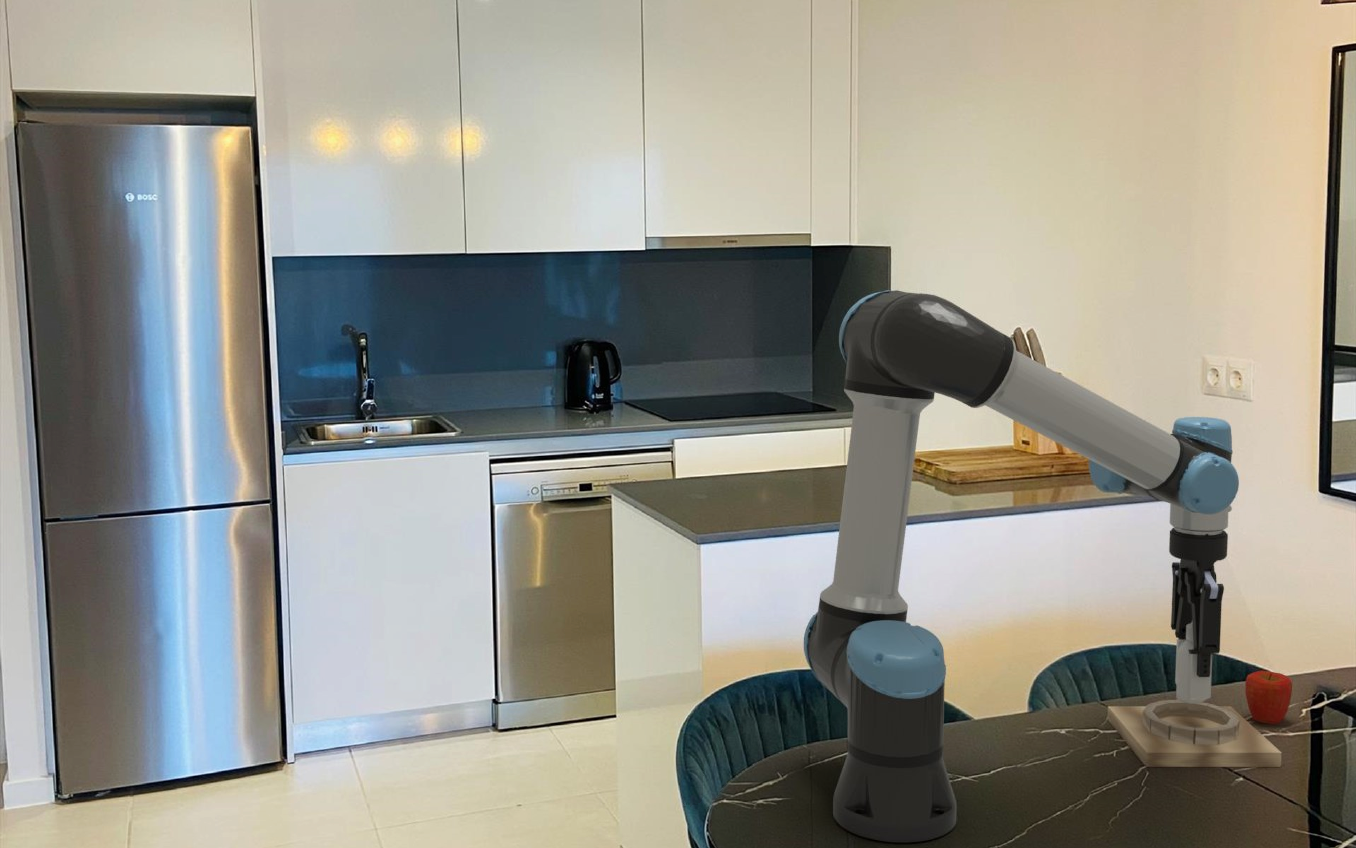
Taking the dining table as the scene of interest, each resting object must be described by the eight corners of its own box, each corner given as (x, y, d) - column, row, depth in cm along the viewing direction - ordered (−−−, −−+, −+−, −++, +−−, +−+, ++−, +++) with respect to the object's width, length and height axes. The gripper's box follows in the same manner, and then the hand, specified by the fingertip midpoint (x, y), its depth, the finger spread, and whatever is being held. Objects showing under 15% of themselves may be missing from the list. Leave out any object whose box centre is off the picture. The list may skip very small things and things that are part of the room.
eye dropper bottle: (1219, 702, 184) (1223, 619, 183) (1182, 705, 184) (1185, 622, 182) (1202, 692, 189) (1205, 611, 187) (1166, 695, 188) (1169, 613, 186)
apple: (1255, 730, 191) (1258, 680, 190) (1236, 715, 197) (1238, 666, 196) (1298, 729, 191) (1301, 679, 190) (1277, 714, 198) (1280, 666, 197)
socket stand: (1146, 766, 178) (1147, 738, 178) (1107, 719, 196) (1108, 693, 196) (1280, 767, 178) (1282, 738, 177) (1229, 719, 196) (1231, 693, 195)
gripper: (1252, 543, 174) (1244, 713, 177) (1202, 515, 192) (1196, 670, 195) (1194, 543, 174) (1187, 713, 177) (1150, 516, 192) (1145, 670, 195)
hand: (1192, 690), depth 186 cm, fingers closed on eye dropper bottle, 5 cm apart
